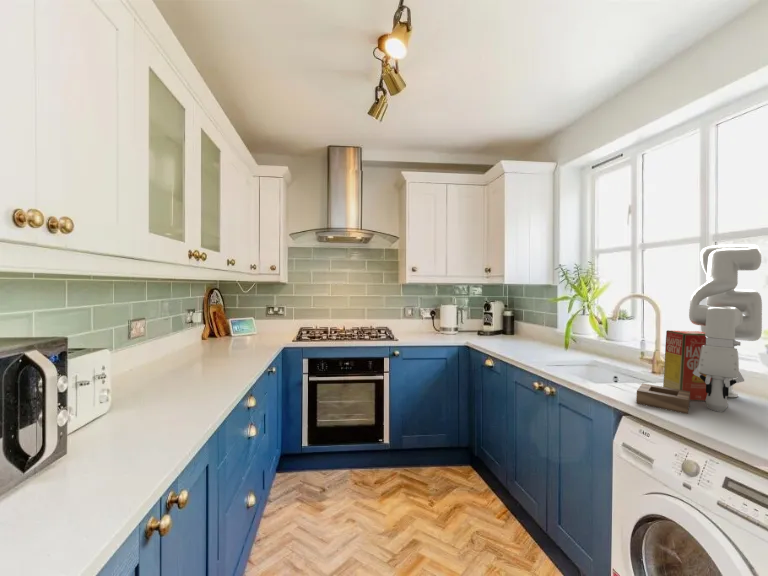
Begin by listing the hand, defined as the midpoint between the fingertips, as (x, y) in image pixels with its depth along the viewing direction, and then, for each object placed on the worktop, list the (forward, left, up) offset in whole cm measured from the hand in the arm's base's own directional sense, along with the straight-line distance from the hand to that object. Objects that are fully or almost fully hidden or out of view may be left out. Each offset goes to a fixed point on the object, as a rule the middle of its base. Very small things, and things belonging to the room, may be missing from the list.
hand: (716, 396), depth 126 cm
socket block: (+6, -14, -5) cm, 16 cm away
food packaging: (-12, -8, -5) cm, 15 cm away
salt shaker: (0, 0, -5) cm, 5 cm away
